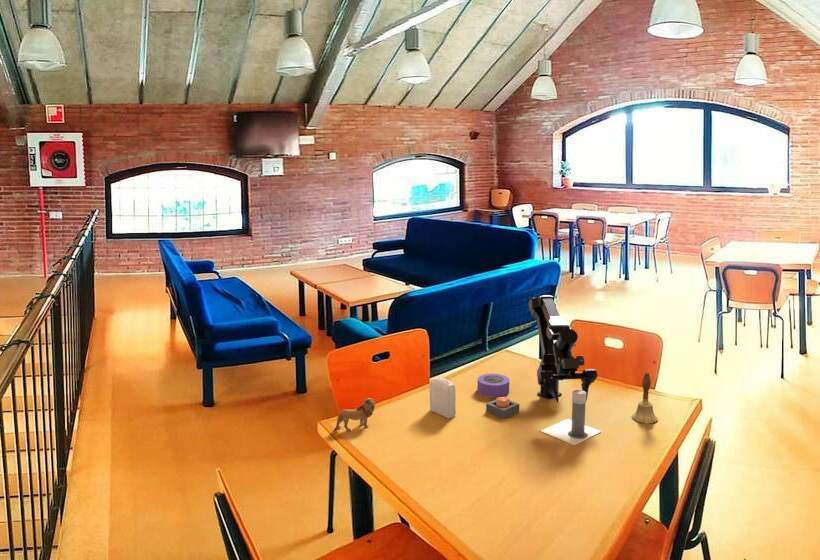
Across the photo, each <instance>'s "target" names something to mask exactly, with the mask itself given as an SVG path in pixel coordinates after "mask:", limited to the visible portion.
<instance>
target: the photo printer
mask: <svg viewBox="0 0 820 560" xmlns="http://www.w3.org/2000/svg"><path fill="white" fill-rule="evenodd" d="M456 408H457V407H456V386H455V385H454V384H453V382H451V381H449V380H448V379H446V378H443V377H434V378H431V380H430V381H429V410H430V411H432V412H433V413H436V414H438V415H440V416H442V417H445V418H448V419H452V418H454V417H455V415H456V412H457V411H456Z"/></svg>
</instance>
